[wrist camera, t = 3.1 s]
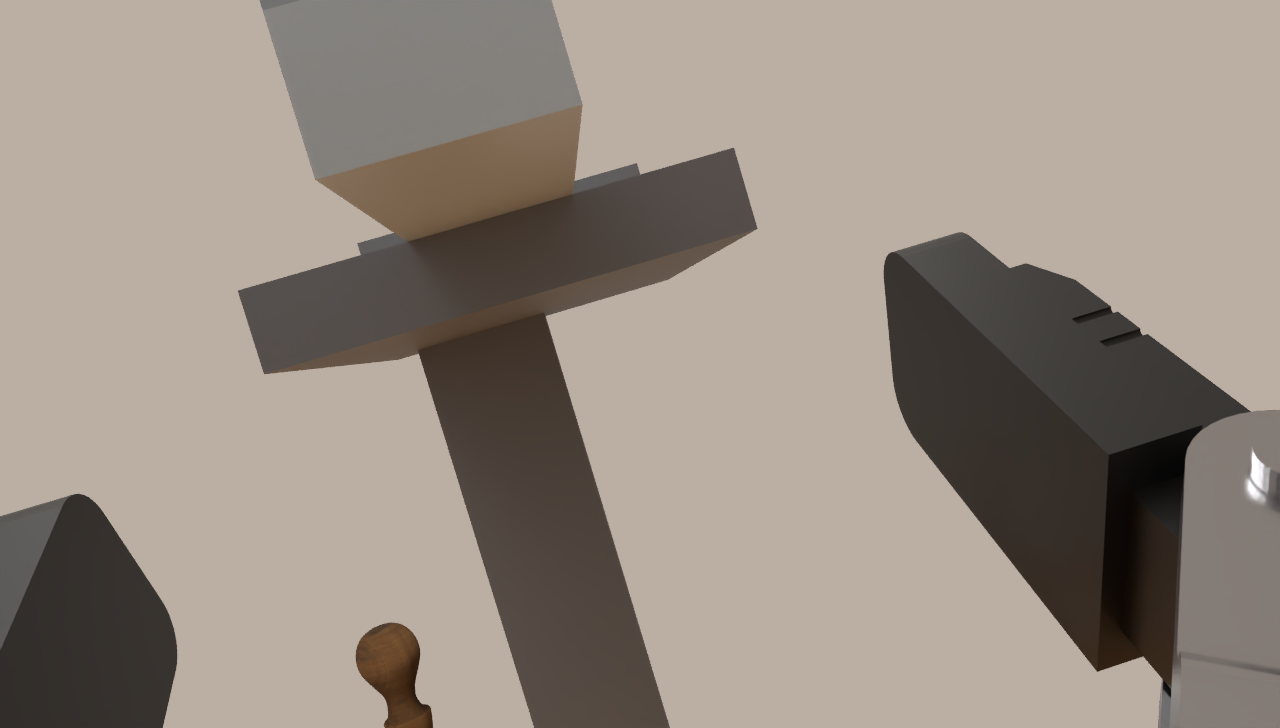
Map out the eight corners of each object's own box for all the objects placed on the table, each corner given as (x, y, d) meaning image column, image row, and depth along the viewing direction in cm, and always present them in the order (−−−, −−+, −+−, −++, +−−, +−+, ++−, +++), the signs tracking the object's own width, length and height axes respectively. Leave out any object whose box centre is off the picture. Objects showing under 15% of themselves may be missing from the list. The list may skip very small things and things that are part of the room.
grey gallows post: (1092, 1377, 26) (697, 25, 24) (636, 1555, 25) (198, 164, 23) (856, 920, 46) (633, 169, 44) (600, 1009, 45) (365, 247, 43)
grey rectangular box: (581, 104, 15) (516, -117, 15) (315, 180, 15) (245, -44, 14) (566, 251, 39) (541, 167, 39) (465, 280, 39) (439, 196, 38)
